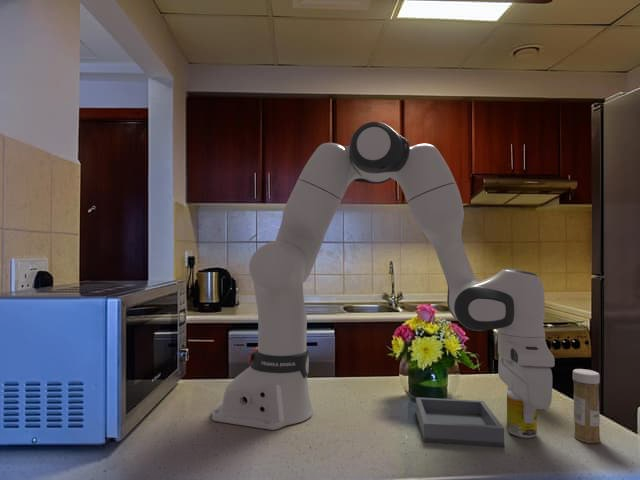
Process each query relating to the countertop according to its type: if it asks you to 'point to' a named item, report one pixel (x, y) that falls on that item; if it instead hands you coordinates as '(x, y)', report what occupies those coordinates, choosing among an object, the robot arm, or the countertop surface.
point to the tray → (458, 422)
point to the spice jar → (586, 405)
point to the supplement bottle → (518, 417)
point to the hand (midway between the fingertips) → (521, 415)
